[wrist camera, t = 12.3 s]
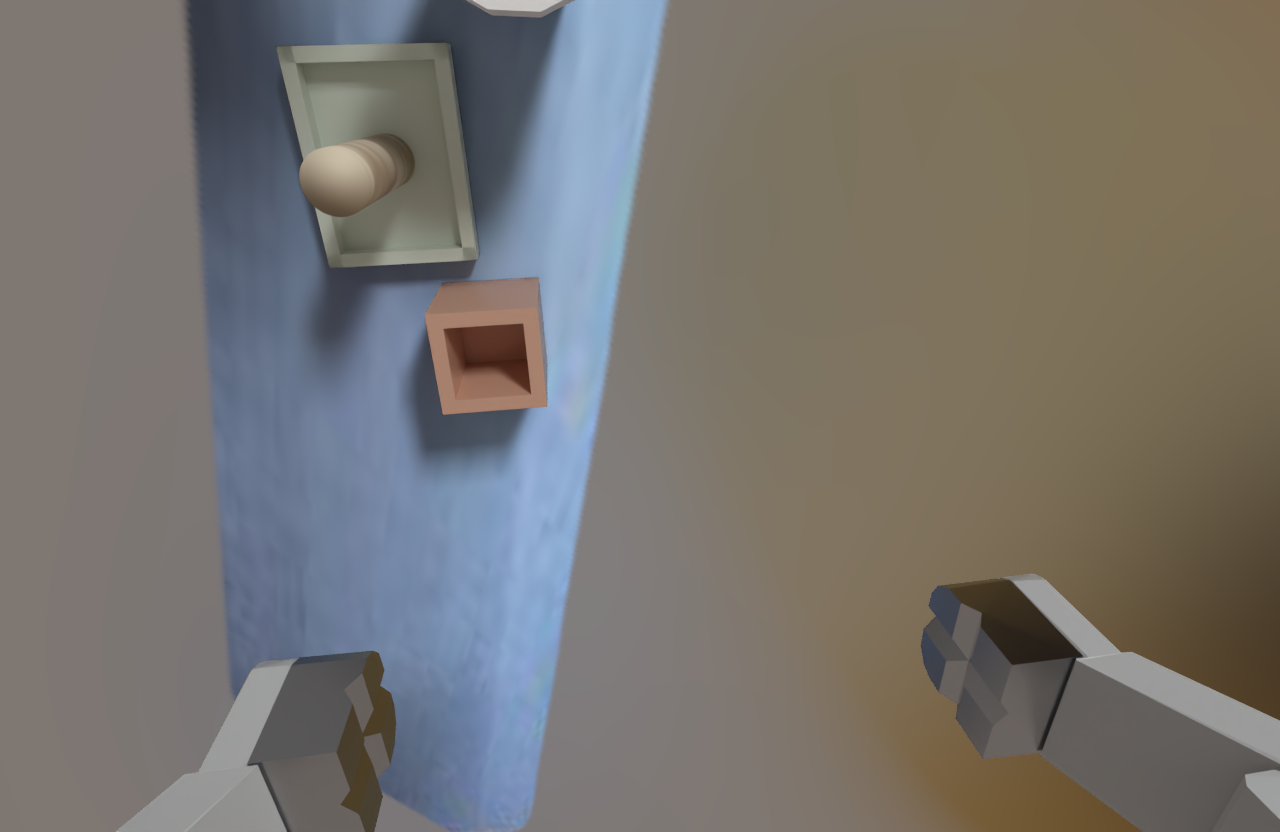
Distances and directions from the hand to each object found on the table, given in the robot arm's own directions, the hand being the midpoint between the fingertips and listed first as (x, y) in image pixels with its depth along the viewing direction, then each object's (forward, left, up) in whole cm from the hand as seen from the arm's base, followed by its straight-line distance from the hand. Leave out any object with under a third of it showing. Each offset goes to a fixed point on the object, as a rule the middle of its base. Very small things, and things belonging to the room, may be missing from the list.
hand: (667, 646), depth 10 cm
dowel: (-4, -11, -37) cm, 38 cm away
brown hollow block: (+7, -6, -37) cm, 38 cm away
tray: (-4, -11, -37) cm, 39 cm away
